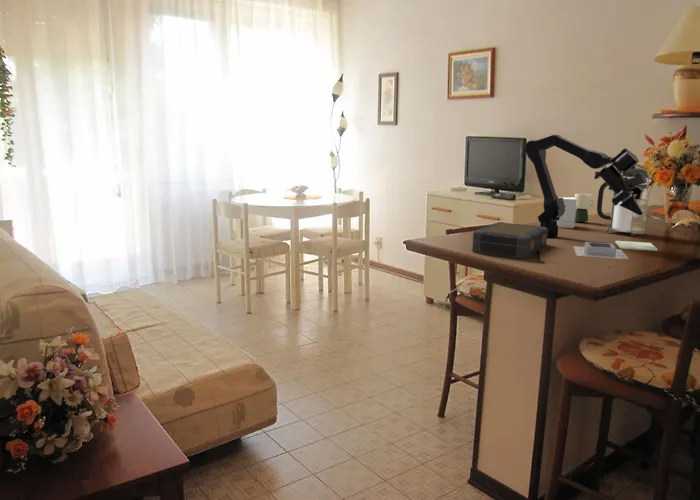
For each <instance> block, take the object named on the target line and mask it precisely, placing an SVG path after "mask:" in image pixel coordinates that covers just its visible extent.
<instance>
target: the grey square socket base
mask: <svg viewBox="0 0 700 500" xmlns="http://www.w3.org/2000/svg"><path fill="white" fill-rule="evenodd" d="M572 248H573V250H574V253H575V255H576V256H578V257H579V256H580V257H590V258H591V257H593V258H605V259H607V258H608V259H619V260H629V257H628V256H627V255H626V253H625V252H624V251H623V250H622V248H619V249H618V248H616V246H615V245H614V243H609V242H608V243H607V242H592V241H585V242H584V246H574V245H573V246H572Z"/></svg>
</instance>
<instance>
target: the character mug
mask: <svg viewBox="0 0 700 500" xmlns="http://www.w3.org/2000/svg"><path fill="white" fill-rule="evenodd" d="M592 196H593V195H592V194H591V193H590V194H589V193H583V192H582V193H575V194H574V196H571V197H570V198H575V199H577V203H576V214H575V222H576V223H582V222H583V223H585V222H589V211H588V209H590V207H594V206H595V203H596V200H595V199H594V198H593V197H592Z"/></svg>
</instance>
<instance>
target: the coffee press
mask: <svg viewBox="0 0 700 500" xmlns="http://www.w3.org/2000/svg"><path fill="white" fill-rule="evenodd" d="M636 165H637V164H635V165H634V166H633V167H632V168H630V169H629V170H628V171H626V172H624V171H622V172H620V171H618V172H619V173H620V174H621V175H622V176H623V177H627V178H628V179H630V178H633V177H635V175H636V174H639V173H641V174H642V175H643V174H644V175H645V176H646V177H647V178H646V180H647V183H644V184H639V185H636V186H635V187H642V189H643V190H644V192H642V196H641V199H645V200H646V197H647V189H648V186H649V185H648V183H652V179H651V177H650V173H649V171H648V170H647V169H646V168H644V167H637V166H636ZM607 187H609V186H608V185H607V183H606V182H605V181H604V182H603V183H602V184H601V185H600V186H599V189H598V194H597V202H596V213H597V216H599V217H600V218H601V219H603V220H607V221H609V222H610V224H609V227H608V228H607V229H606V233H607V234H612V233H613V232H622V233H628V235H629V236H630V237H632V238H633V237H634V238H635V236H636V234H635V233H631V224H632V216H633V212H632V211H630V210H628V209H626V208H624V207H622V206H619V205H620V204H622V202H619V204H618V205H616V206H615V205H614V204H613V203H612V202H611V203H612V205H611V213H610V215H606V214H604V213H603V200H604V191H605V189H606V188H607ZM612 194H613V195H612V198H613V197H614V196H615V195H616V194H615V193H614V192H613V193H612ZM610 230H611V231H610Z"/></svg>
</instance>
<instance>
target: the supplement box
mask: <svg viewBox="0 0 700 500" xmlns="http://www.w3.org/2000/svg"><path fill="white" fill-rule="evenodd" d="M558 198H563V201H564V205H565V206H566V207H565V212H564V214H563V215H562V216H561V217H560V219H559V221H557V225H558V228H564V229H567V228H568V229H574V228H575V223H576V221H575V214H576V209H577V208H576V203H577V199H575V198H571V197H567V196H566V197H565V196H564V197H562V196H561V197H559V196H558Z"/></svg>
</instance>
